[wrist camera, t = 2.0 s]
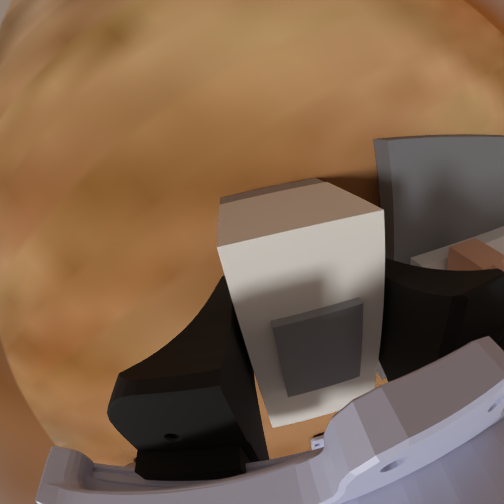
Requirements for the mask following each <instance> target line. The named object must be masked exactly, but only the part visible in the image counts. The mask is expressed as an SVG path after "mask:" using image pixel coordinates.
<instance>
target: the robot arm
mask: <svg viewBox="0 0 504 504" xmlns="http://www.w3.org/2000/svg"><path fill="white" fill-rule="evenodd" d="M378 360H379V362H380V364H381V366H382V369H383V371H384V373H385V375H386V378H387V380H388V383H385V384H383V385H380V386H378V387H376V388H374V389H372V390H370V391H368V392H367V393H365V394H363V395H361V396H359V397H357V398H355V399H353V400H352V401H350V402H349V403H348V404H347V405H346V406H345V407H343V408H342V409H341V410H340V411H339V412H337V413H336V414H335V415H334V416H333V417H332V419H331V420H330V423H329V425H328V427H327V429H326V431H325V433H324V435H321V436H317V437H314V438H312V439H311V448H312V450H311V451H307V452H303V453H299V454H294V455H290V456H285V457H280V458H275V459H270V460H269V456H268V451H267V446H266V441H265V436H264V431H263V426H262V421H261V415H260V410H259V405H258V399H257V393H256V387H255V379H254V370H253V367H252V364H251V361H250V358H249V354H248V351H247V348H246V345H245V342H244V338H243V335H242V332H241V329H240V325H239V322H238V319H237V315H236V312H235V309H234V305H233V302H232V299H231V295H230V292H229V288H228V285H227V281H226V278H225V276H222V278H221V279H220V281H219V283H218V284H217V286H216V288H215V290H214V291H213V293H212V294H211V296H210V298H209V299H208V301H207V302H206V304H205V305H204V306H203V308H202V309H201V311H200V312H199V313H198V315H197V316H196V317H195V318H194V319H193V320H192V322H191V323H190V324H189V325H188V326H187V327H186V328H185V329H184V330H183V331H182V332H181V333H180V334H178V335H177V336H176V337H175V338H174V339H173V340H171V341H170V342H169V343H168V344H167V345H165V346H164V347H163V348H161V349H160V350H159V351H157V352H156V353H154V354H153V355H151V356H150V357H148V358H147V359H145V360H143V361H142V362H140V363H138V364H136V365H134V366H132V367H130V368H128V369H127V370H125V371H123V372H120V373H119V375H118V377H117V380H116V383H115V386H114V389H113V392H112V395H111V399H110V402H109V405H108V410H107V414H108V417H109V420H110V422H111V423H112V424H113V426H114V427H115V428H116V429H117V430H118V431H119V432H120V433H121V434H122V435H123V436H124V437H125V438H126V439H127V440H128V441H129V442H130V443H131V444H132V445H133V446H134V447H135V448H136V449H137V450H138V451H137V458H136V464H135V467H124V466H114V465H105V464H98V463H93V461H92V460H91V459H90V458H88V457H87V456H86V455H84V454H83V453H81V452H79V451H77V450H73V449H68V448H62V447H57V446H52V447H51V449H50V452H49V455H48V458H47V461H46V465H45V468H44V471H43V474H42V478H41V481H40V485H39V489H38V492H37V496H36V500H35V501H36V502H37V504H504V271H502V270H501V269H498V268H496V269H486V270H474V271H455V270H441V269H432V268H425V267H419V266H414V265H409V264H405V263H402V262H398V261H394V260H391V259H388V258H385V284H384V305H383V319H382V331H381V341H380V350H379V358H378Z"/></svg>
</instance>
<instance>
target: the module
mask: <svg viewBox="0 0 504 504" xmlns="http://www.w3.org/2000/svg"><path fill="white" fill-rule="evenodd" d="M217 250H218V253H219V257H220V260H221V264H222V267H223V271H224V274H225V278H226V281H227V285H228V288H229V292H230V295H231V299H232V302H233V305H234V309H235V312H236V315H237V319H238V322H239V325H240V329H241V332H242V335H243V338H244V342H245V345H246V348H247V351H248V354H249V358H250V361H251V364H252V367H253V370H254V373H255V376H256V379H257V383H258V386H259V389H260V392H261V395H262V398H263V401H264V404H265V407H266V410H267V413H268V416H269V419H270V422H271V424H272V427H273V428H274V427H279V426H283V425H288V424H292V423H296V422H300V421H304V420H308V419H312V418H315V417H319V416H323V415H326V414H329V413H333V412H336V411H339V410H341V409H342V408H343V407H345V406H346V405H347V404H348V403H349V402H350V401H352V400H353V399H355V398H357V397H359V396H361V395H363V394H365V393H367V392H368V391H370V390H372V389H374V386H375V380H376V373H377V366H378V358H379V350H380V341H381V331H382V319H383V305H384V284H385V226H384V210H383V209H381V208H379V207H377V206H376V205H374V204H372V203H370V202H368V201H366V200H364V199H362V198H360V197H358V196H356V195H354V194H352V193H350V192H347V191H345V190H343V189H341V188H339V187H337V186H335V185H333V184H330V183H328V182H324V181H321V180H319V179H317V178H312V179H306V180H301V181H296V182H291V183H286V184H281V185H276V186H271V187H267V188H262V189H258V190H253V191H249V192H244V193H240V194H235V195H231V196H227V197H223V198H220V205H219V219H218V236H217Z"/></svg>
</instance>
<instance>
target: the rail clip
mask: <svg viewBox="0 0 504 504" xmlns="http://www.w3.org/2000/svg"><path fill="white" fill-rule="evenodd" d="M496 268H498V269H501V270H502V271H504V255H503V254H502V253H500V252H498V251H497V250H495V249H493V248H492V247H490V246H488V245H487V244H485V243H483V242H481V241H480V240H478V239H476V238H473V239H470V240H467V241H464V242H461V243H458V244H455V245H452V246H449V252H448V262H447V270H455V271H474V270H486V269H496Z"/></svg>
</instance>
